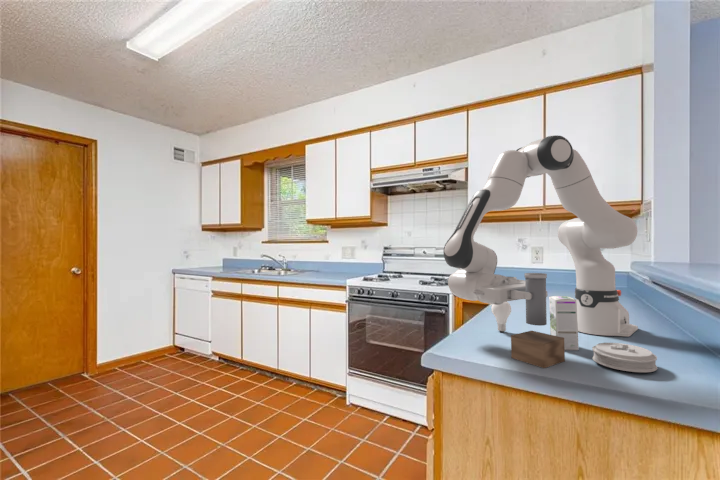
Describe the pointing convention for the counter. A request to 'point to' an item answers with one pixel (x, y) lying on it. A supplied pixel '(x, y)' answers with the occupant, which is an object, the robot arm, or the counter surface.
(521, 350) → the walnut stand
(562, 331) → the syrup box
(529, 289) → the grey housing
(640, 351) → the lid
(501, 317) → the lightbulb
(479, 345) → the counter surface
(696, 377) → the counter surface
